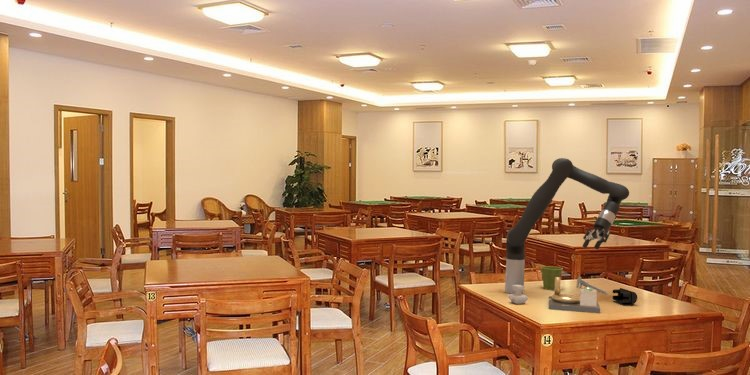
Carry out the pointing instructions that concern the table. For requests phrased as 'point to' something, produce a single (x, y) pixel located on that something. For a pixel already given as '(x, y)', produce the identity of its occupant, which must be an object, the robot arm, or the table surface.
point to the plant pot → (550, 276)
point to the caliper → (588, 285)
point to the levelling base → (569, 305)
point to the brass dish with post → (563, 297)
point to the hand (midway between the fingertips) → (589, 248)
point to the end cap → (624, 297)
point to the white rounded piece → (518, 295)
